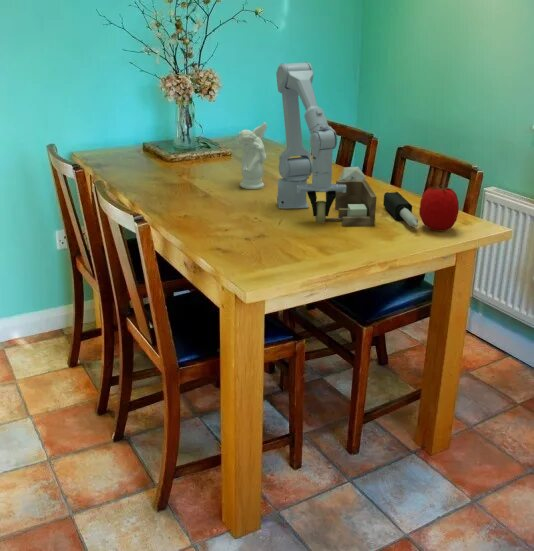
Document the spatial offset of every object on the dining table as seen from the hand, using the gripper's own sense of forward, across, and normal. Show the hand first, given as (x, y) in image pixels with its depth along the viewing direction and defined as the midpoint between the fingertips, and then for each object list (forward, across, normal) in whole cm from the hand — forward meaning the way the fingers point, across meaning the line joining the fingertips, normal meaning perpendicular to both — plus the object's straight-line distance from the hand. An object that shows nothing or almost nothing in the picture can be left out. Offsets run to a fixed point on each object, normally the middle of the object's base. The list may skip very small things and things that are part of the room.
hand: (320, 215), depth 208 cm
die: (+2, +15, +33) cm, 36 cm away
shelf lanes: (+2, +10, +4) cm, 11 cm away
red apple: (+2, +34, -8) cm, 35 cm away
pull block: (+2, +6, 0) cm, 6 cm away
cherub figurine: (+2, -20, +40) cm, 45 cm away
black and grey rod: (-1, +24, +13) cm, 28 cm away
